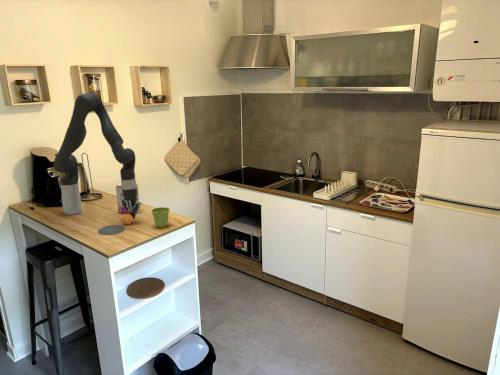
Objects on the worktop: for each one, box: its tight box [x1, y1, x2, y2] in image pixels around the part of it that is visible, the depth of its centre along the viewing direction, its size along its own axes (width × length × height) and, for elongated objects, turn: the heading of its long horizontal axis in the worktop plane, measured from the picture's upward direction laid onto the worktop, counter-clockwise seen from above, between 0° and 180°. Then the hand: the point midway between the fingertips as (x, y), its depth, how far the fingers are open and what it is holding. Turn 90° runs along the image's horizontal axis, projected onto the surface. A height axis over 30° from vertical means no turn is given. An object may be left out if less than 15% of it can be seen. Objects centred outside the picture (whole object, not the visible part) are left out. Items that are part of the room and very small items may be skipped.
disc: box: [97, 224, 126, 236], centre depth 191 cm, size 13×13×1 cm
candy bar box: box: [115, 183, 141, 215], centre depth 215 cm, size 11×5×16 cm, turn 84°
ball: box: [121, 213, 134, 225], centre depth 198 cm, size 6×6×6 cm
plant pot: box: [150, 206, 171, 228], centre depth 195 cm, size 9×9×9 cm
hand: (132, 218), depth 202 cm, fingers closed
